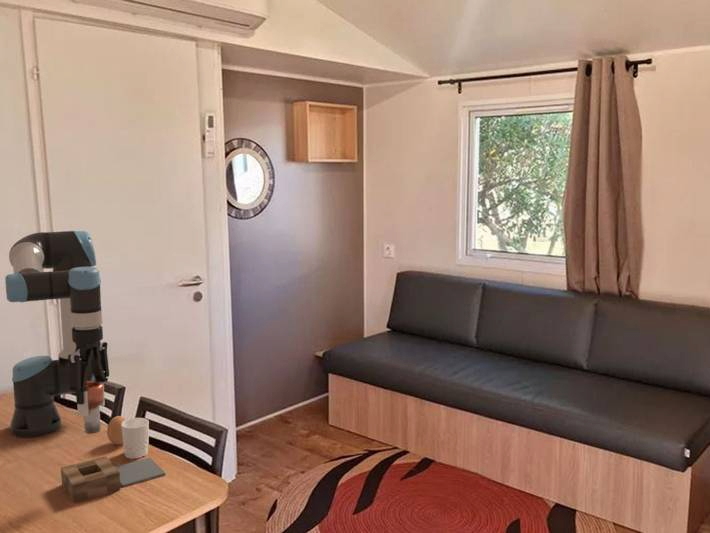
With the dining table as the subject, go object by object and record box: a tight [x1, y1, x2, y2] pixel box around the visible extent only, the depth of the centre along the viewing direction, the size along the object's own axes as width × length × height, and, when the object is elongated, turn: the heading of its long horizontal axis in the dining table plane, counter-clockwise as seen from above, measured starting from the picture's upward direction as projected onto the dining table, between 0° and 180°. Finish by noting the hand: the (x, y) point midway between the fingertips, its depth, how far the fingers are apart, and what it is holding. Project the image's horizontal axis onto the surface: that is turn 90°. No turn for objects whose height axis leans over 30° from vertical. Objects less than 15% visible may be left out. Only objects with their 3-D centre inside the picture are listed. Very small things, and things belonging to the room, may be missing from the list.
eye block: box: [60, 455, 121, 504], centre depth 180 cm, size 12×12×5 cm
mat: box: [115, 457, 166, 488], centre depth 189 cm, size 12×12×1 cm
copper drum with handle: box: [83, 381, 105, 435], centre depth 177 cm, size 6×6×14 cm
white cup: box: [121, 417, 150, 459], centre depth 200 cm, size 8×8×10 cm
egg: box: [106, 415, 126, 446], centre depth 206 cm, size 7×7×9 cm
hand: (91, 409), depth 178 cm, fingers closed on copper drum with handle, 6 cm apart
